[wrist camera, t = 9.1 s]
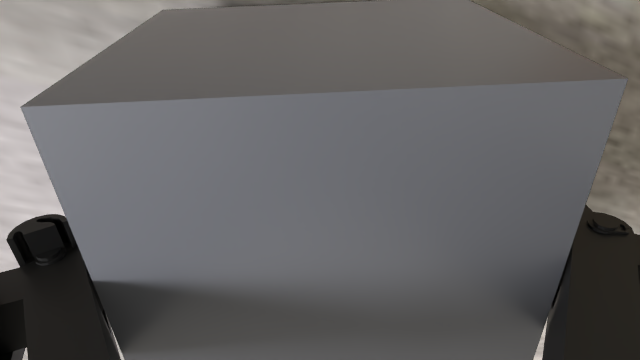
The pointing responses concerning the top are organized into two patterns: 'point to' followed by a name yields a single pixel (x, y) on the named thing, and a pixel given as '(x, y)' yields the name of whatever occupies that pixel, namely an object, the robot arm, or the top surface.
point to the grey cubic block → (327, 179)
